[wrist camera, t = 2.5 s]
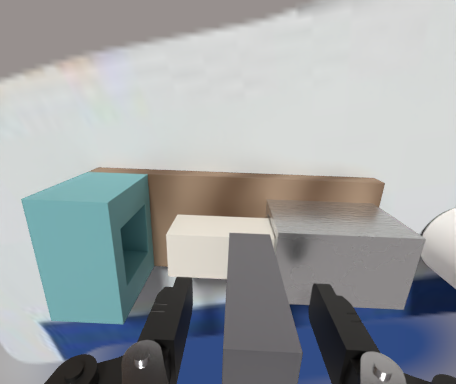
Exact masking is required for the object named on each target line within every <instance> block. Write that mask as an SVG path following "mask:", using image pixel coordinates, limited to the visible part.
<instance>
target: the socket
mask: <svg viewBox="0 0 456 384" xmlns="http://www.w3.org/2000/svg"><path fill="white" fill-rule="evenodd" d="M21 200H22V204H23V208H24V212H25V216H26V220H27V224H28V229H29V233H30V237H31V241H32V245H33V249H34V253H35V257H36V261H37V265H38V269H39V273H40V277H41V281H42V285H43V289H44V293H45V297H46V301H47V305H48V309H49V313H50V317H51V321H68V322H88V323H108V324H124V322H125V320H126V318H127V317H128V315H129V313H130V311H131V309H132V307H133V305H134V303H135V301H136V299H137V298H138V296H139V294H140V292H141V290H142V288H143V286H144V284H145V282H146V281H147V279H148V277H149V275H150V273H151V271H152V269H153V267H154V255H153V242H152V228H151V215H150V201H149V187H148V174H129V173H103V172H87V173H84V174H82V175H79V176H77V177H74V178H72V179H69V180H67V181H65V182H62V183H60V184H57V185H55V186H52V187H50V188H47V189H45V190H42V191H40V192H38V193H35V194H33V195H30V196H28V197H25V198H23V199H21Z"/></svg>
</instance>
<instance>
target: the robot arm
mask: <svg viewBox="0 0 456 384" xmlns="http://www.w3.org/2000/svg"><path fill="white" fill-rule="evenodd" d="M192 306H193V290H192V277H177V278H176V280H175V283H174V286H173V287H165V288H164V289H163V290H162V291H161V292H160V293H159V294H158V295H157V297H156V300H155V302H154V305H153V307H152V309H151V312H150V314H149V316H148V318H147V321H146V323H145V325H144V328H143V330H142V332H141V335H140V337H139V339H138V341H137V343H135V344H133V345H132V346H131V347H129V348H128V350H127V351H126V352H125V354H124V355H123V356H121V357H119V358H115V359H112V360H108V361H104V362H100V363H97V361H96V359H95V358H94V357H93V356H91V355H87V354H82V355H77V356H74V357H72V358H70V359H68V360H67V361H65V362H64V363H62V364H61V365H60V366H59V367H58V368H57V369H56V371H55V372H54V373H53V374H52V375H51V376H50V378H49V379H48V380H47V381H46V382H45V383H44V384H177V379H178V374H179V370H180V365H181V361H182V356H183V352H184V347H185V342H186V338H187V333H188V329H189V324H190V319H191V315H192ZM309 319H310V323H311V326H312V329H313V331H314V334H315V337H316V340H317V343H318V346H319V349H320V351H321V354H322V357H323V360H324V362H325V365H326V368H327V371H328V374H329V377H330V380H331V383H332V384H456V378H454V377H452V376H449V375H444V374H439V375H436V376H435V377H434V378H433V380H432V382H428V381H424V380H422V379H419V378H416V377H413V376H410V375H408V374H405V373H403V372H402V370H401V369H400V367H399V366H398V365H397V364H396V363H395V362H394V361H393V360H391V359H390V358H389V357H387V356H385V355H383V354H381V353H380V351H379V350H378V348H377V346H376V345H375V343H374V341H373V340H372V338H371V336H370V335H369V333H368V332H367V330H366V328H365V326H364V325H363V323H362V322H361V320H360V318H359V316H358V315H357V313H356V311H355V310H354V308H353V306H352V304H351V303H350V302H348V301H347V300H346V299H345V298H344V297H343V296H339V295H336V293H335V292H334V290H333V288H332V286H331V285H330V284H318V283H314V284H313V286H312V292H311V298H310V304H309Z"/></svg>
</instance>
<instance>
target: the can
mask: <svg viewBox="0 0 456 384" xmlns="http://www.w3.org/2000/svg"><path fill="white" fill-rule="evenodd" d="M422 237H424V238H425V239H426V241H425V244H424V247H423V250H422V253H421V257H422V259H423V261H424V262H425V264H426V265H427V266H428V267H429V268H431V269H432V270H433V271H434V272H435V273H437V274H438V275H439V276H440V277H441V278H443V279H444V280H445V281H446V282H448V283H449V284H450V285H451V286H453V287H454V288H455V289H456V208H454V209H451V210H448V211H446V212H444V213H442V214H440V215H439V216H437V217H436V218H435V219H433V220H432V221H431V222H430V223H429V225H428V226H427V227H426V229H425V230H424V232H423V234H422Z"/></svg>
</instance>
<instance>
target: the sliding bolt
mask: <svg viewBox="0 0 456 384" xmlns="http://www.w3.org/2000/svg"><path fill="white" fill-rule="evenodd" d="M275 239H276V236H275V233H274V230H273V227H272V224H271V221H270V218H249V217H225V216H201V215H177V216H176V218H175V220H174V221H173V223H172V225H171V227H170V228H169V230H168V232H167V234H166V242H167V261H168V276H170V277H192V278H213V279H227V287H226V306H225V324H224V343H223V369H222V384H297V383H298V378H299V372H300V366H301V360H302V354H303V352H302V349H301V345H300V342H299V338H298V334H297V331H296V327H295V324H294V320H293V316H292V313H291V309H290V305H289V302H288V298H287V295H286V291H285V287H284V284H283V280H282V276H281V273H280V269H279V266H278V262H277V258H276V255H275V251H274V249H275Z"/></svg>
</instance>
